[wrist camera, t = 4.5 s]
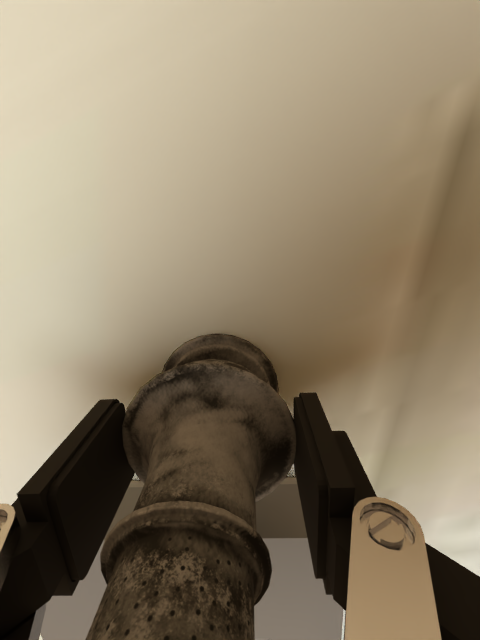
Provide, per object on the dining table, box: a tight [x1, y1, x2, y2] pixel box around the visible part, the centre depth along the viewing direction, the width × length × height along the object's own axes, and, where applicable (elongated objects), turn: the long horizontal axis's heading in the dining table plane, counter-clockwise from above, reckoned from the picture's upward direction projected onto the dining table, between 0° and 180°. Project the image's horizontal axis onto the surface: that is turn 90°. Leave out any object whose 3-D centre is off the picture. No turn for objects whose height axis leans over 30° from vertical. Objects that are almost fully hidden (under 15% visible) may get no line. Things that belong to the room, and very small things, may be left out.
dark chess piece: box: [86, 334, 296, 640], centre depth 8 cm, size 6×6×12 cm
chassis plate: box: [40, 477, 343, 640], centre depth 16 cm, size 16×14×3 cm
